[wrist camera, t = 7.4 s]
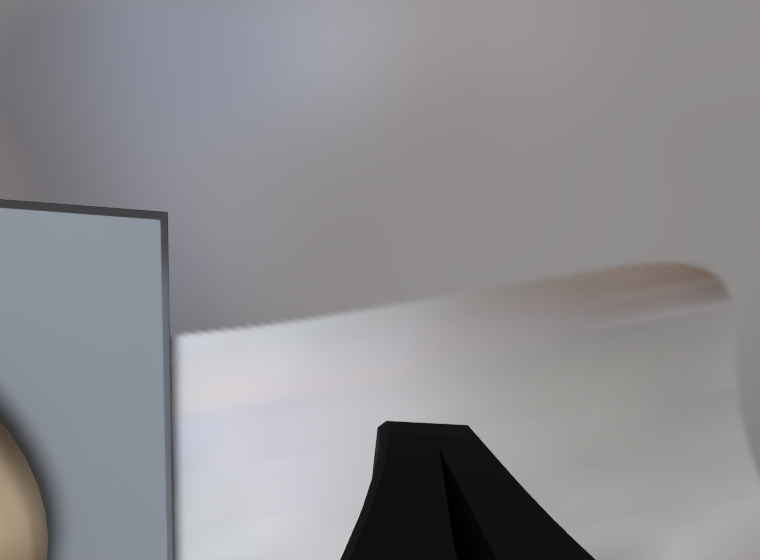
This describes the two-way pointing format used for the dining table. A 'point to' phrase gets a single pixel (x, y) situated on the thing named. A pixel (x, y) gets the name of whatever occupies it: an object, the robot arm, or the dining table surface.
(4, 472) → the dial
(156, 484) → the grey flat square board
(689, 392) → the dining table surface
